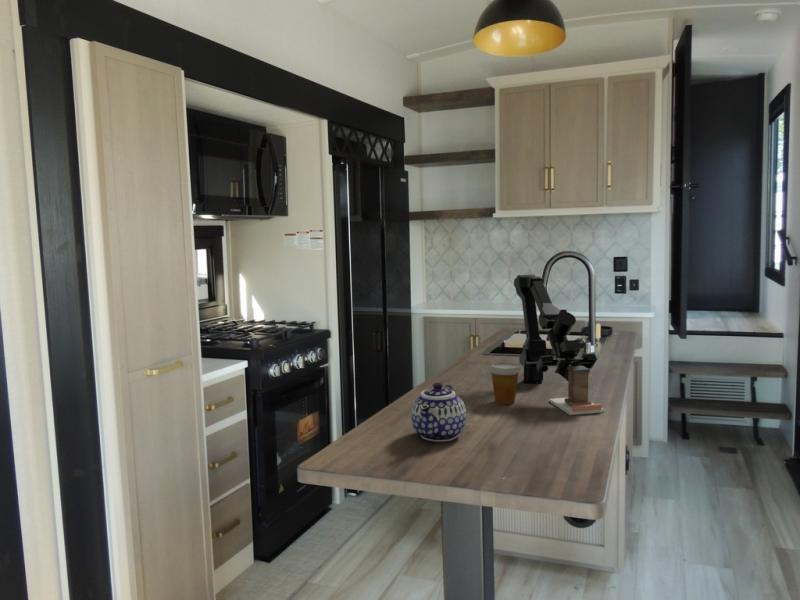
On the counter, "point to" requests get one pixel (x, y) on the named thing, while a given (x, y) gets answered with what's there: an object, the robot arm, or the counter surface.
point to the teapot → (438, 414)
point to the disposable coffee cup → (504, 382)
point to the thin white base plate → (576, 407)
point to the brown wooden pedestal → (578, 386)
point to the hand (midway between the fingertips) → (574, 385)
